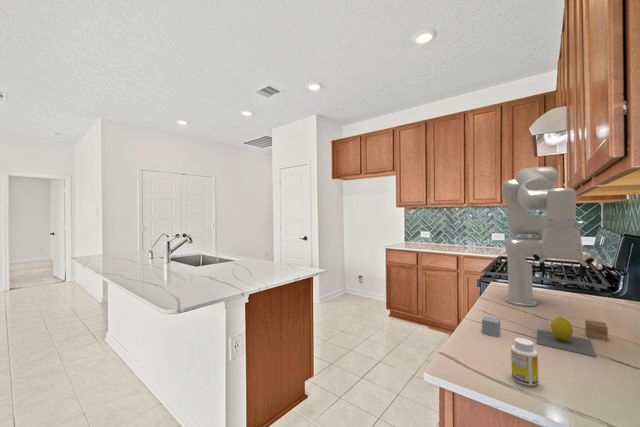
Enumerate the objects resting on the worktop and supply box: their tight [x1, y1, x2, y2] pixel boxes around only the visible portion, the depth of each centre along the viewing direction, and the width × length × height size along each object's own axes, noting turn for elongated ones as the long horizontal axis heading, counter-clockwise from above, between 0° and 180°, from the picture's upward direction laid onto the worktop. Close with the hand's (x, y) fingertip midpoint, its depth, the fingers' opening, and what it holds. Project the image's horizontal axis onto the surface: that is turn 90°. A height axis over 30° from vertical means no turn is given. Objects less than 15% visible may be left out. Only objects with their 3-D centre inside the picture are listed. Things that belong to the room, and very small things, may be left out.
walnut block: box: [584, 318, 609, 342], centre depth 96 cm, size 5×5×5 cm
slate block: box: [481, 315, 501, 338], centre depth 100 cm, size 5×5×5 cm
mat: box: [536, 329, 597, 358], centre depth 92 cm, size 14×14×1 cm
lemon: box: [550, 316, 574, 341], centre depth 93 cm, size 6×6×8 cm
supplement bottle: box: [510, 337, 539, 387], centre depth 72 cm, size 6×6×10 cm
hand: (562, 275), depth 93 cm, fingers open, 9 cm apart
